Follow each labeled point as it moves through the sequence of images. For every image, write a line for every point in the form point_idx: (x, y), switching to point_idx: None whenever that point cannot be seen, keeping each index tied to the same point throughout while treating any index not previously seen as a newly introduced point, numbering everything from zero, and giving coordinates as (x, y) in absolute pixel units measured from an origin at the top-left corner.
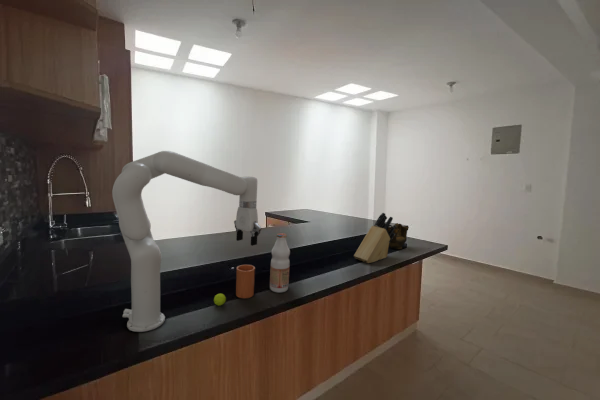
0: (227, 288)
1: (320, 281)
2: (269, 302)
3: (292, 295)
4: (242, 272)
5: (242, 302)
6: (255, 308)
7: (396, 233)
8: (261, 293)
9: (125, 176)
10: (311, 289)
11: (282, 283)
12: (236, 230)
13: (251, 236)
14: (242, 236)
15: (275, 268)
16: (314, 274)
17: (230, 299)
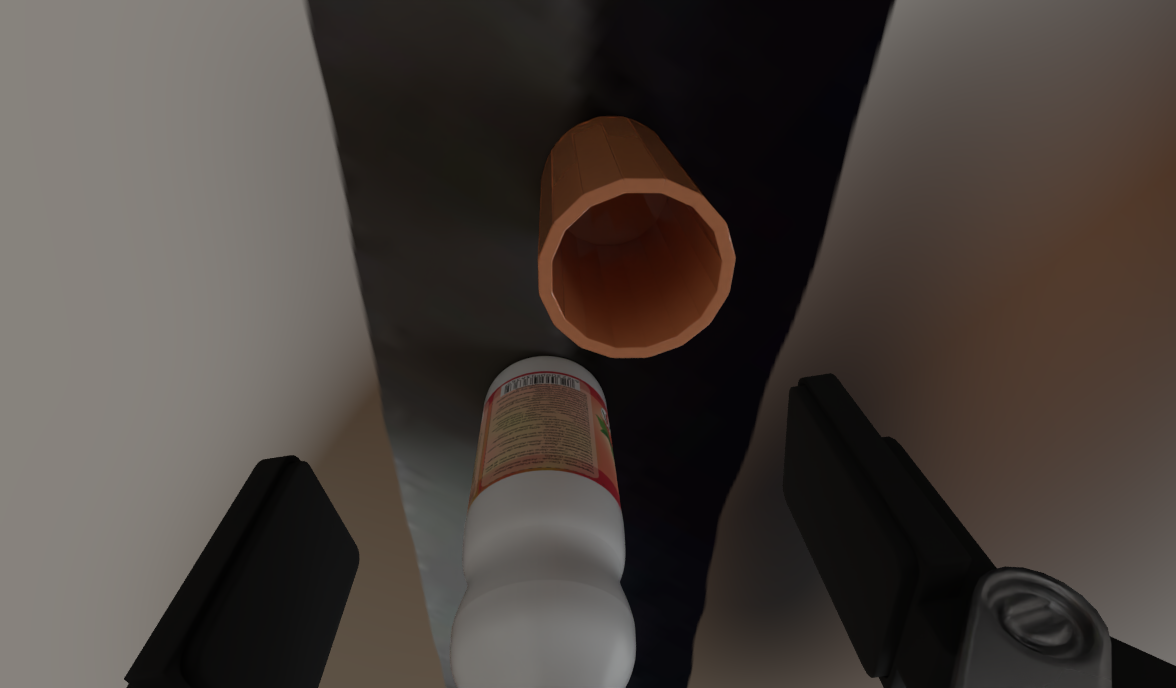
0: (778, 124)
1: None
2: (407, 260)
3: (425, 413)
4: (574, 196)
5: (501, 99)
6: (369, 132)
7: None
8: None
9: None
10: (440, 518)
11: (480, 428)
12: (1052, 615)
13: (176, 682)
14: (812, 549)
15: (508, 477)
16: None
17: (598, 42)
